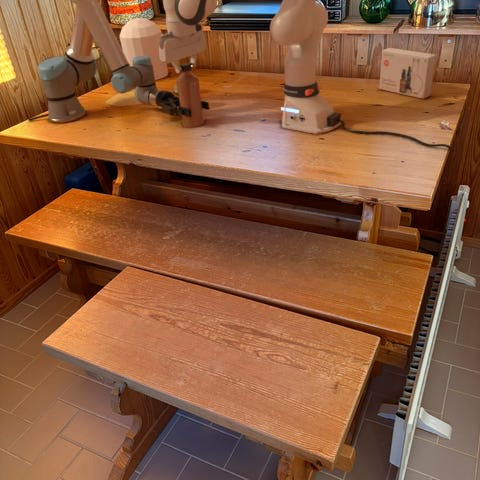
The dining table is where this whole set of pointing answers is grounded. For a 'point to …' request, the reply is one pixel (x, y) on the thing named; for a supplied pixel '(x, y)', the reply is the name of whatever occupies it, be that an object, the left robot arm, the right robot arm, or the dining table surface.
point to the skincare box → (407, 72)
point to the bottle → (190, 98)
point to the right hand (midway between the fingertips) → (185, 70)
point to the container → (143, 43)
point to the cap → (185, 67)
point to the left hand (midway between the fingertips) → (199, 109)
